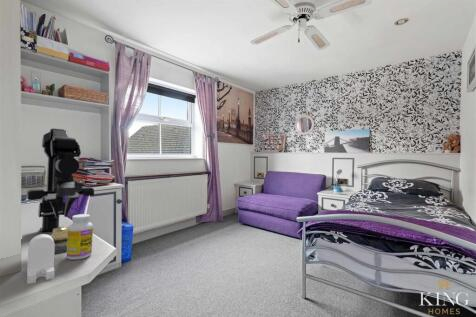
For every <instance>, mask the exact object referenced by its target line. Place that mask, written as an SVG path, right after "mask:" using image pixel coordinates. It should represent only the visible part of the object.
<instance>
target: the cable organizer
mask: <svg viewBox="0 0 476 317" xmlns="http://www.w3.org/2000/svg"><path fill="white" fill-rule="evenodd" d="M54 250H55V244H54V240H53V238H52V237H51V235H50V234H46V233H43V234H42V233H41V234H38V235H35V236H34V237H33V238H31V239H30V241H29V243H28V248H27V264H26V269H27V270H26V284H28V285H29V284H33V283H34V284H35V283H37V279H39V278H41V277H44V278H45V280H46V281H47V280H51V279H54V278H55V253H54Z"/></svg>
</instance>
